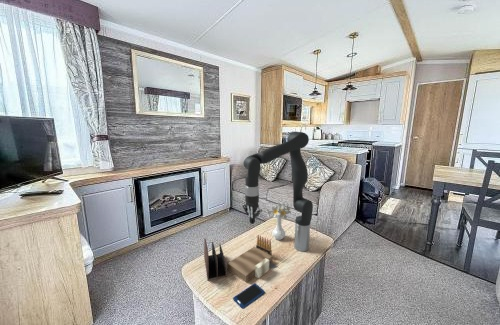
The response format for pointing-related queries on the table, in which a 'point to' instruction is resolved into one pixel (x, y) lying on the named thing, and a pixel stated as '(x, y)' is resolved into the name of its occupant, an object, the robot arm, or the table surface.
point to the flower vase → (279, 219)
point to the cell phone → (248, 295)
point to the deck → (247, 263)
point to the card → (261, 268)
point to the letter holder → (214, 263)
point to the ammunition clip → (264, 245)
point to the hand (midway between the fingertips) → (252, 223)
